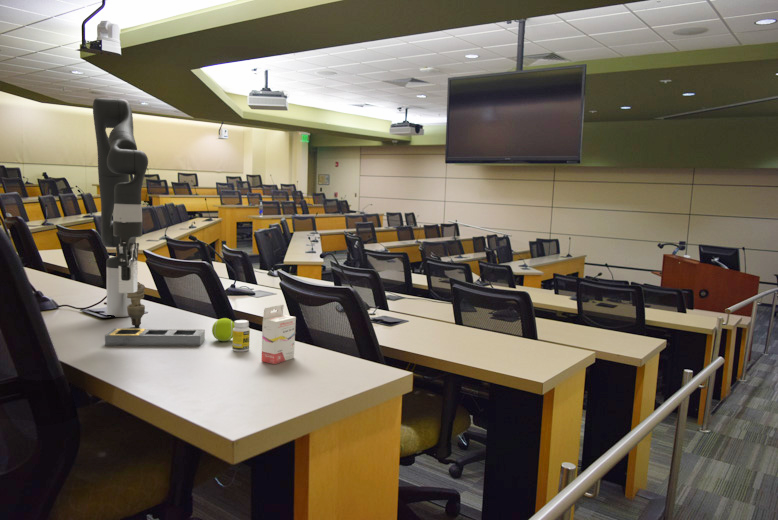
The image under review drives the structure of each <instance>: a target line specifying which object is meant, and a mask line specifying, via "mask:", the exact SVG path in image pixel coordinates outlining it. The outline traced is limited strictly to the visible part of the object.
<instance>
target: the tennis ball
mask: <svg viewBox="0 0 778 520" xmlns="http://www.w3.org/2000/svg"><path fill="white" fill-rule="evenodd" d="M234 327H235V326H234V321H233V320H232V319H229V318H227V317H223V318H219V319H217V320H216V321H215V322H214V323H213V325H212V328H211V332H212V335H213V337H214V338H215V339H216V340H217V341H220V342H228V341H230V340H231V339H232V340H233V328H234Z"/></svg>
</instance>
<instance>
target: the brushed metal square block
mask: <svg viewBox="0 0 778 520" xmlns="http://www.w3.org/2000/svg"><path fill="white" fill-rule="evenodd" d="M123 262H125V260H123ZM130 265H131V266H130V280H128V281H123V280H122V279H121V268H122V267H120V266H119V293H134V292H136V291H137V282H138V261H137V260H131V263H130Z"/></svg>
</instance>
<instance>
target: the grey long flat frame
mask: <svg viewBox="0 0 778 520" xmlns="http://www.w3.org/2000/svg"><path fill="white" fill-rule="evenodd" d="M205 331H206V330H205V329H201V328H200V329H198V328H197V329H196V328H195V329H186V328H185V329H183V328H182V329H181V328H180V329H179V328H178V329H177V328H176V329H175V328H174V329H172V328H171V329H170V328H169V329H167V328H164V329H163V328H162V329H161V328H113V329H112V330H111V331H109V332H108V333H106V334H105V335H104V346H105V347H110V346H111V347H113V346H115V347H119V346H120V347H127V346H128V347H130V346H131V347H201V345H202V344H203V343H204V341H205V337H206V336H205V333H206V332H205Z"/></svg>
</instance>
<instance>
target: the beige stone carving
mask: <svg viewBox="0 0 778 520" xmlns="http://www.w3.org/2000/svg"><path fill="white" fill-rule="evenodd" d="M145 289H146V287H145V285H144V284H143V283H141V282H138V281H137V291H136V292H134V293H127V294H128V295H127V298H130V299H131V304H130V305H128V306H127V312H128V315H129V316H128V317H129V318H130V319H131V326H133V327H135V328H140V326H141V324H142V322H141V321H142V318H143V316H144V315H145V313H146V312H145V311H146V310H145V309H146V306H145V305H144V304H142V303H141V302H142V301H141V300H143V299H144V298H145Z"/></svg>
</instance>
